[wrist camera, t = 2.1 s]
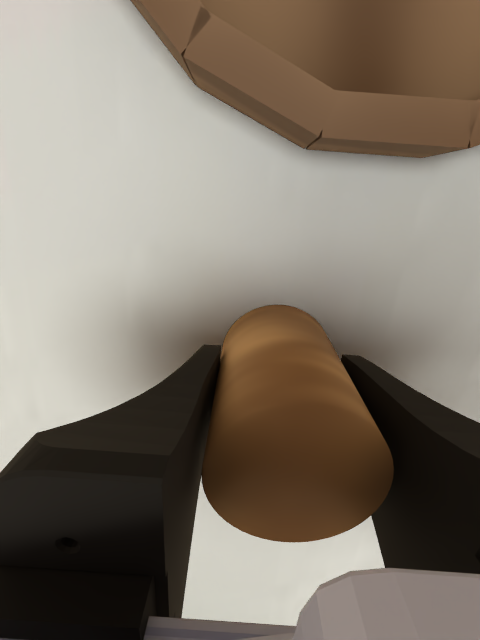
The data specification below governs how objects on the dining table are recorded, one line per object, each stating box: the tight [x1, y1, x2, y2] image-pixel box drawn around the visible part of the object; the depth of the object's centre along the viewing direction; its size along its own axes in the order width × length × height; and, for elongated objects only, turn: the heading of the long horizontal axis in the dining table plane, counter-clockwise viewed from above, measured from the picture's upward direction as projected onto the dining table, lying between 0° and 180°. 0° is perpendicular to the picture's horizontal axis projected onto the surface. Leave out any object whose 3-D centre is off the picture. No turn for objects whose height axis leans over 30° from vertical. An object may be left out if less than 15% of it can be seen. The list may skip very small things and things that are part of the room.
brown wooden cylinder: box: [202, 305, 394, 542], centre depth 10 cm, size 4×4×6 cm
